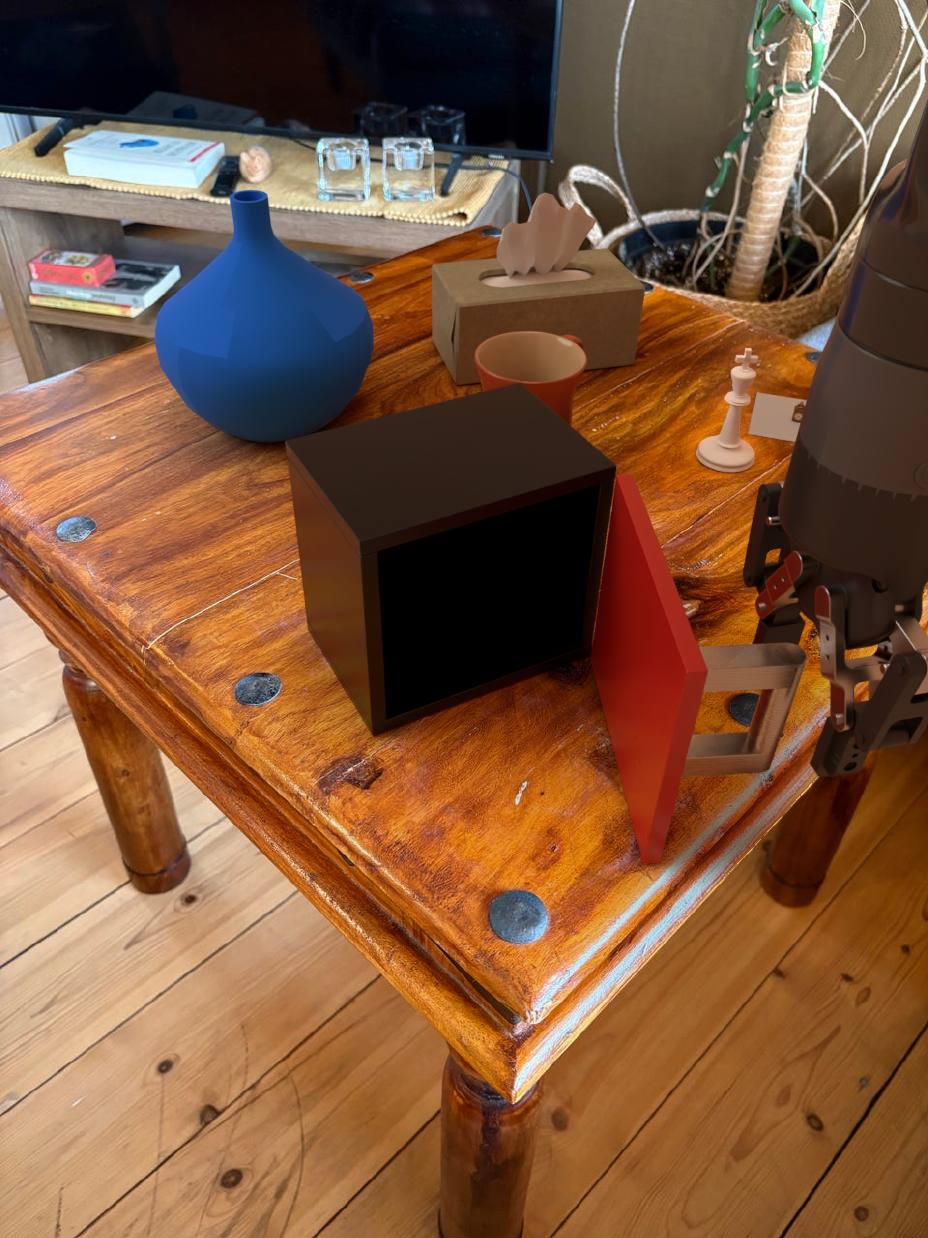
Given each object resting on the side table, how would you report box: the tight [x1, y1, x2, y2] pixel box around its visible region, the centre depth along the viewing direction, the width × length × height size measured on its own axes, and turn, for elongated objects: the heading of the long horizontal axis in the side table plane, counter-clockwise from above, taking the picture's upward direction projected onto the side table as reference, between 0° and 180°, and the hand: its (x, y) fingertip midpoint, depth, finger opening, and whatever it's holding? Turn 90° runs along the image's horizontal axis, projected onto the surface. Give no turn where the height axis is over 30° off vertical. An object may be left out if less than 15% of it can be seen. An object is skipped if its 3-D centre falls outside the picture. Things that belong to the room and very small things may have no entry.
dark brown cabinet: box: [284, 383, 618, 737], centre depth 62 cm, size 11×16×15 cm
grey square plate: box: [747, 391, 807, 443], centre depth 90 cm, size 8×8×2 cm
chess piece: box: [695, 347, 759, 473], centre depth 82 cm, size 5×5×10 cm
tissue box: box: [431, 192, 646, 386], centre depth 94 cm, size 19×10×16 cm, turn 105°
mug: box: [474, 331, 587, 427], centre depth 81 cm, size 12×9×10 cm
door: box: [590, 473, 808, 865], centre depth 55 cm, size 7×16×15 cm, turn 5°
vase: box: [154, 189, 375, 443], centre depth 83 cm, size 18×18×19 cm
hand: (798, 717), depth 51 cm, fingers open, 6 cm apart
